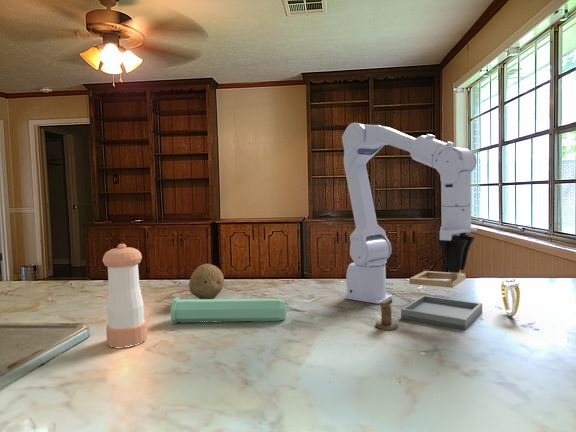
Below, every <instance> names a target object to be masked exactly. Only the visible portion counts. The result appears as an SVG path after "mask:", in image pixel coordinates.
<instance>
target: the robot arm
mask: <svg viewBox="0 0 576 432" xmlns="http://www.w3.org/2000/svg"><path fill="white" fill-rule="evenodd" d="M341 140H342V141H341V142H342V146H343V167H344V172H345V177H346V183H347V187H348V194H349V198H350V204H351V209H352V214H353V220H354V224H355V225H354V226H355V229H354V230H353V231H352V232H351V234H350V236H349V241H350V246H349V254H350V257H351V260H352V261H353V262H351V263H350V264H348V266H347V269H346V275H345V277H346V295H345V297H344V298H345V299H347V300H351V301H352V300H353V301H359V302H365V303H371V304H379V305H380V302H382V301H384V300H386V299H392V297H393V294H388V293H387V288H386V287H387V286H386V284H387V280H386V279H387V277H386V275H387V272H386V263H388V259H389V258H390V256H391V255H392V244H391V241H390V240H389V239H388V236H387V235H386V230H385V229H383V228H382V227H381V226H380V225H379V224H378V220H377V215H376V210H375V205H374V198H373V195H372V194H373V193H372V189H371V185H370V179H369V174H368V169H367V168H368V167H367V164H368V162H369V161H370V160H371V159H372V158H373V157H374V156H375V155H376V154H377V153H378V152H379V151H380V150H381V149H382V148H383V147H384V146H391V147H394V148H397V149H401V150H403V151H406V152H409V155H410V157H411V159H412V160H414V161H416V162H418V163H420V164H423V165H425V166H428V167H430V168H433V169H435V170H436V171H437V173H439V177H440V184H441V185H440V186H441V187H440V189H441V191H440V192H441V194H440V195H441V197H440V198H441V199H440V200H441V201H440V202H441V204H440V205H441V206H440V207H441V209H440V210H441V212H440V213H441V226H440V230H439V237H438V238H437V243H438V244H439V246H440V248H441V250H442V252H443V255H444V259H445V264H446V267H447V271H448V273H451V272H456V273H459V272H460V269H461V271H465V267H466V263H467V259H468V254H469V251H470V248H471V246H472V243H473V242H474V241H475V235H470V234H471V233H472V232H477V231H478V227H477V226H472V172H473V171H474V169H475V168H476V165H477V157H476V154H475V153H474V152H473V151H472V150H471V149H469V148H468V147H465V146H461V147H455V146H454V142H452V141H447V142H444V141H441V140H439V139H436V135H433V134H431V133H430V134H429V133H427V134H426V135H424V134H423V135H420V136H418V137H413V136H411V135H408V134H406V133H405V132H404V133H403V132H401V131H399V130H397V129H394V128H392V127H389V126H384V125H380V124H364V123H359V122H351V123H350V124H349V125H347V127H346V128H345V130H344V132H343V134H342V136H341Z"/></svg>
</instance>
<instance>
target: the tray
mask: <svg viewBox="0 0 576 432" xmlns="http://www.w3.org/2000/svg"><path fill="white" fill-rule="evenodd" d="M482 313H483V303H482V302H481V303H480V302H475V301H474V302H473V301H468V300H467V301H466V300H461V299H453V298H444V297H438V296H432V295H421V296H420V297H418V298H416V299H415V300H413V301H412V302H410V303H408V304H407V305H405V306H403V307H402V308H401V309H400V317H401V318H400V319H404V320H409V321H415V322H420V323H426V324H429V325H430V324H432V325H437V326H441V327H442V326H443V327H447V328H453V329H458V330H463V331H466V330H467V329H468V328H469V327H470V326H471V325H472V324H473V323H474V321H476V320H477V318H479V317H480V316H481V315H482Z"/></svg>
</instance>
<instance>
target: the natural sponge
mask: <svg viewBox="0 0 576 432" xmlns="http://www.w3.org/2000/svg"><path fill="white" fill-rule="evenodd" d="M224 283H225V278H224V274H223V272H222V270H221V269H220V268H219V267H218V266H216V265H214V264H212V263H204V264H201V265H199V266H198V267H196V269H195V270H193V272H192V274H191V275H190V279H189V283H188V287H189V292H190V293H191V295H193V296H195V297H196V298H197V299H216V297H217V296H218V295H219V294H220V293H221V291H222V290H223V287H224Z"/></svg>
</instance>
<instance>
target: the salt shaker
mask: <svg viewBox="0 0 576 432" xmlns="http://www.w3.org/2000/svg"><path fill="white" fill-rule="evenodd" d="M142 259H143V256H142V253H141V251H139V249H137V248H134V247H129V246H128V247H127V245H126V243H120V244H118V245H117V246H116V248H112V249H110V250H108V251H106V252H105V253H104V255H103V257H102V263H103V265H104V266H105V267H107V276H108V277H107V279H108V294H107V296H108V297H107V302H106V303H107V306H106V313H107V325H106V344H108V345H109V346H112V347H125V346H130V345H135V344H138V343H141V342H143V341H144V340H146V339H147V340H148V330H147V327H148V326H147V320H146V319H145V310H144V306H145V305H144V300H143V295H142V292H141V286H140V275H139V264H140V263H141V261H142ZM147 340H146V341H147ZM143 343H144V342H143ZM108 345H107V346H108ZM109 346H108V347H109Z"/></svg>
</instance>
